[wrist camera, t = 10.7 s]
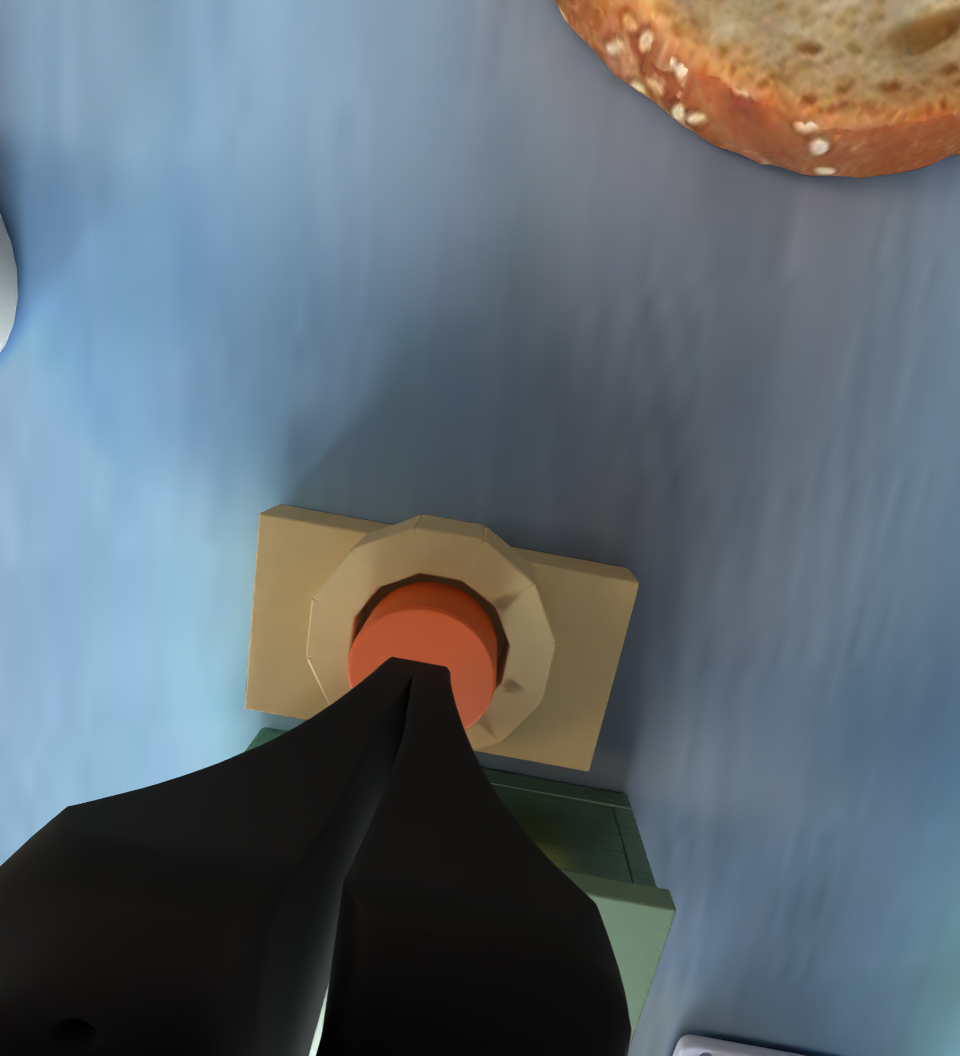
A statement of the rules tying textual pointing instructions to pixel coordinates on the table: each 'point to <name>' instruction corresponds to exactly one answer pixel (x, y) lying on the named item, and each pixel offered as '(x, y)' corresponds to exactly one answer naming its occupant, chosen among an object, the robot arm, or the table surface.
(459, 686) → the switch
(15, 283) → the milk bottle
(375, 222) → the table surface
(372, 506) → the table surface
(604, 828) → the box
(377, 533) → the switch block
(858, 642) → the table surface
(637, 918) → the lid
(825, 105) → the bread slice
